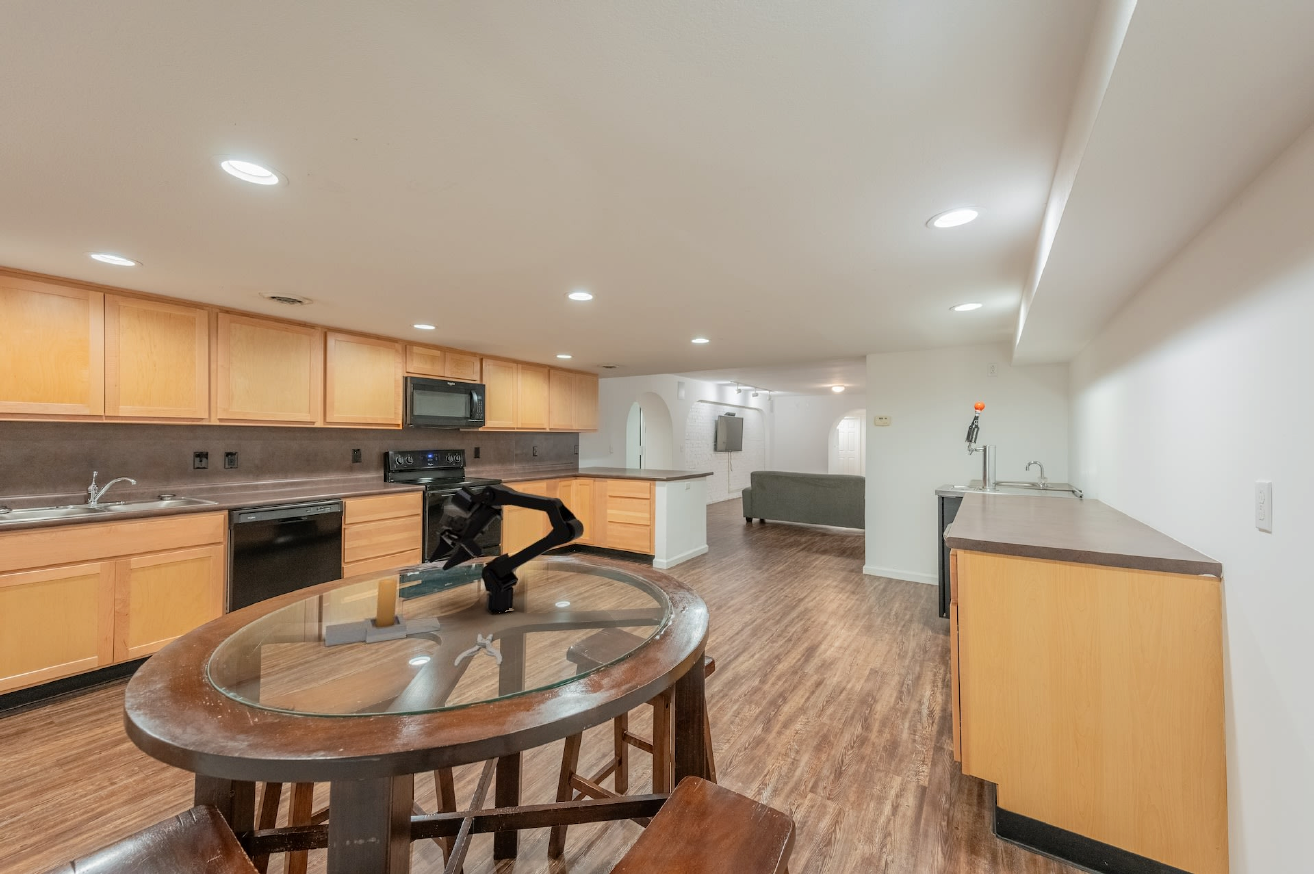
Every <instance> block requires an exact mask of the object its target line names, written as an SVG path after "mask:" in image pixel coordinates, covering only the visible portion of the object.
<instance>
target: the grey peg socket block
mask: <svg viewBox="0 0 1314 874" xmlns="http://www.w3.org/2000/svg"><path fill="white" fill-rule="evenodd" d="M376 617H377V616H375V617H368V618H363V620H362V621H353V622H345V623H340V624H339V623H338V624H330V625H325V636H324V637H325V638H324V641H325V642H324V643H325V645H324V646H325V647H331V646H339V645H344V644H345V645H346V644H352V643H359V642H365V643H366V644H370V643H378V642H385V641H390V640H391V641H392V640H397V639H398V640H399V639H403V638H404V639H405V638H407V636H408V635H415V634H420V633H427V632H429V633H430V632H434V631H440V629H441V624H440V622H439V619H438V618H437V617H429V618H422V619H415V620H414V619H413V620H408V621H407V620H405V618H404V615H403V614H402V613H399V614H395V622H394V625H391V626H383V627H376Z"/></svg>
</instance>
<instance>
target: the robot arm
mask: <svg viewBox="0 0 1314 874" xmlns="http://www.w3.org/2000/svg"><path fill="white" fill-rule="evenodd" d="M450 504H451V505H453V506H454V507H455V508H457V509H458V510H459V511H461V512H462V513H464V514H465V515H468V517H466V516H462V515H460V514H456V515H455V516H452V515H449V514H447V513H443V514H442V516H441V519H440V521H439V522H438V525H439V526H440V527H439V528H438V529H437V530H436V532H435V533H436V535H435V536H436V537H437V538H436V539H437V540H436V541H437V542H436V545H435V546H434V548H433V551H432V553H431V554H430V556H429V558H428V562H429V564H432V563H434V562H436V561H438V560H439V559H440V558H442V557H444V556H445V555H446V554H449V553H450V552H451V551H453V550H454V552H452V554H451V556H449V558H448V559H447V561H446V562H445V563H444V565H443V566H442V570H443V571H445V572H446V571H448V570H450V569H452V568H454V567H457V566H459V565H461V564H463V563H465V562H468V561H470V560H474V559H475V558H476V559H479V557H480V556H481V555H482V554H483V552H484V551H483V550H484V548H483V547H482V546H481V544H479V543H478V542H477V541H476V539H477V538H478V537H479V536H480V535H481V536H484V534H485V533H486V532H485V531H484V530H485V529H486V528H488V526H489V525H490V524H491V523H492V522H493V521H494V520H495V519H496V518H497V519H498V520H500V521H503V520H504V518H503V517H504V516H503V514H504V511H503V509H502V508H496V507H500V506H501V507H503V506H512V507H513V506H514V507H518V508H524V509H528V510H536V511H540V512H545V513H546V514H547V516H548V519H549V523H550V526H551V528H553V529H551V530H550V532H549V533H548V534H547V535H546V536H545V537H543V538H541V539H539V540H537V541H535V542H534V543H532V544H530V545H529V546H527V547H525V548H523V549H521V550H520V551H518V552H516V553H514V554H512V555H511V556H510V555H509V552H506V553H504V554H501V555H499V556H496V557H495V558H493V559H492V560H489V561H488V562H485V565H484V566H483V567H482V569H481V578H482V580H483V585H484V588H485V592H488V593H487V594H486V602H485V609H486V610H487V611H489V613H490V614H491V615H496V614H497V613H498V614H500V613H499V612H505V611H506V610H509V608H512V607H513V605H514V590H515V589H514V587H515V586H517V583H518V582H519V577H517V574H515V572H516V571H517V569H519V568H520V567H521V566H524V565H525V564H526V563H528V562H530V561H532V560H534V559H536V558H537V557H539V556H541V555H542V554H544V553H546V552H548V551H550V550H551V549H553V548H555V547H558V546H562V545H565V544H569V543H570V542H573V541H575V540H577V539H578V540H579V538H581V537H582V536H583V534H584V532H585V531H584V530H585V529H584V524H583V523H582V522H581V520H580V519H578V518H577V517H576V516H575V514H574V512H572V511H571V510H570V509H569V508H568V507H567V506H565V504H564V502H563V501H562V499H560V498H558V497H549V496H544V495H539V494H533V493H527V492H523V491H518V490H516V489H514V488H512V487H510V486H508V485H505V484H502V483H501V484H499V483H498V484H492V485H486V486H485V487H484V488H482V490H481V492H479V493H478V492H476V491H475V490H473V489H472V488H471V487H470V486H468V485H462V486H461V488H460V489H459V490H458V491H456V493H454V494H453V495H452V497H451V499H450ZM454 548H455V549H454ZM513 608H514V607H513ZM498 614H497V615H498Z"/></svg>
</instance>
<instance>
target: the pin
mask: <svg viewBox="0 0 1314 874" xmlns="http://www.w3.org/2000/svg"><path fill="white" fill-rule="evenodd" d="M377 585H378V586H377V587H378V589H377V601H376V602H377V604H376V605H377V606H376V616H375V617H376V627H383V626H391V625H394V622H395V615H396V607H397V606H396V602H397V588H398V580H397V579H395V578H385V579H380V580H379V581H378V584H377Z"/></svg>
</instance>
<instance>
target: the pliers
mask: <svg viewBox="0 0 1314 874" xmlns="http://www.w3.org/2000/svg"><path fill="white" fill-rule="evenodd" d="M492 640H493V634H492V633H490V634H489V635H488V636H486V638H483V637H482V634H481V633H479V634H477V640H476V645H475V646H473V647H472V648H470V649H468V650H467V649H466V650H465V651H463V652H461V653H460V654H459V655H458V656H457V657H456V659H455V661H454V668H458V666H459V664H460V662H462V661H463V659H465V658H469V657H474V656H476V655H478V654H479V653H480V651H479V649H484V648H485V650H484V651H483V654H484V655H486V656H488V657H493V658H495V659H496V663H497V667H498V666H501V664H502V661H503V656H502V654H501V652H500V651H499V650H497V648H496V649H495V648H494V647H493V646H492Z"/></svg>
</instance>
